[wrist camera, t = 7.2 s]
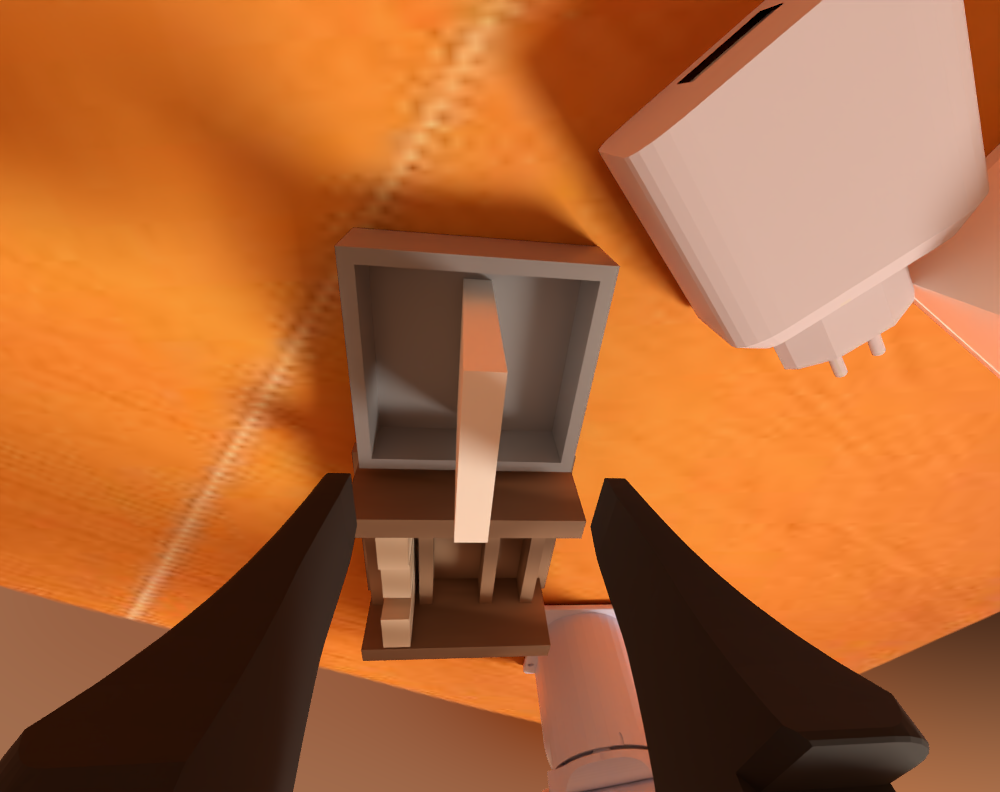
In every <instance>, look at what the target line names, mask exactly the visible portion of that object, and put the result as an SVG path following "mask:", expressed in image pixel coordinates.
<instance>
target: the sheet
mask: <svg viewBox="0 0 1000 792" xmlns="http://www.w3.org/2000/svg"><path fill="white" fill-rule="evenodd" d="M507 374H508V372H507V366H506V361H505V355H504V349H503V343H502V338H501V332H500V326H499V320H498V315H497V309H496V303H495V297H494V291H493V286H492V280H479V279H465V278H463V298H462V319H461V339H460V360H459V381H458V401H457V431H456V475H455V519H454V543H488V535H489V526H490V518H491V509H492V501H493V492H494V484H495V475H496V467H497V458H498V450H499V442H500V433H501V425H502V416H503V408H504V399H505V391H506V382H507Z"/></svg>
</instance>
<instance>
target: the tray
mask: <svg viewBox="0 0 1000 792" xmlns="http://www.w3.org/2000/svg"><path fill="white" fill-rule="evenodd" d="M335 254H336V263H337V272H338V281H339V290H340V299H341V308H342V317H343V326H344V335H345V344H346V353H347V362H348V370H349V379H350V388H351V397H352V406H353V415H354V424H355V433H356V442H357V451H358V460H359V468H371V469H424V470H456V431H457V401H458V381H459V360H460V339H461V319H462V298H463V278H465V279H479V280H492V286H493V291H494V297H495V303H496V309H497V315H498V320H499V326H500V332H501V338H502V343H503V349H504V355H505V361H506V366H507V372H508V374H507V382H506V391H505V399H504V408H503V416H502V425H501V433H500V442H499V450H498V458H497V467H496V471H530V472H571V469H572V465H573V461H574V457H575V453H576V448H577V444H578V440H579V436H580V431H581V427H582V423H583V419H584V415H585V410H586V406H587V402H588V398H589V394H590V389H591V385H592V381H593V377H594V372H595V368H596V364H597V360H598V356H599V351H600V347H601V343H602V339H603V335H604V330H605V326H606V322H607V318H608V313H609V309H610V305H611V301H612V297H613V292H614V288H615V284H616V280H617V276H618V271H619V267H620V266H619V265H618V264H617V263H615V262H614V261H613V260H612V259H611V258H610V257H609V256H608V255H607V254H606V253H605V252H604V251H603V250H602V249H601V248H600V247H599V246H587V245H574V244H561V243H548V242H535V241H522V240H509V239H497V238H484V237H471V236H458V235H445V234H432V233H419V232H406V231H393V230H380V229H367V228H354V227H353V228H352V229H351V230H350V231H349V232H348V233H347V234H346V235H345V236H344V237H343V238H342V239H341V240H340V241H339V242H338V243H337V244H336V245H335Z"/></svg>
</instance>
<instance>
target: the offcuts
mask: <svg viewBox="0 0 1000 792" xmlns="http://www.w3.org/2000/svg"><path fill="white" fill-rule="evenodd" d="M375 542H376V552H377V563H378V570H381V579H382V590H383V598H384V603H383V609H382V615H381V627H382V637H383V647H384V648H388V647H410V645H411V635H412V625H413V615H414V605H415V595H416V586H417V549H416V547H417V538H375Z"/></svg>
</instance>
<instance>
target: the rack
mask: <svg viewBox="0 0 1000 792" xmlns="http://www.w3.org/2000/svg"><path fill="white" fill-rule="evenodd" d="M352 459H353V467H354V475H355V476H354V479H353V482H352V488H353V496H354V504H355V512H356V520H357V528H356V534H355V538H362V541H363V549H364V557H365V566H366V574H367V582H368V590H371V602H370V608H369V613H368V618H367V623H366V628H365V634H364V639H363V644H362V649H361V651H362V658H363V661H376V660H411V659H447V658H482V657H518V656H548V653H549V649H550V646H551V644H550V638H549V632H548V626H547V620H546V614H545V608H544V602H543V596H542V590H541V588H544V587H545V583H546V579H547V574H548V570H549V566H550V562H551V558H552V554H553V549H554V545H555V541H556V538H581V537H582V534H583V530H584V527H585V523H586V519H585V516H584V512H583V509H582V506H581V502H580V499H579V496H578V493H577V489H576V486H575V483H574V480H573V476H572V470H573V466H574V462H575V457H574V461H573V465H572V469H571V472H530V471H496V475H495V484H494V492H493V501H492V509H491V518H490V526H489V535H488V543H454V519H455V475H456V470H424V469H371V468H359V460H358V451H357V443H355V444H354V447H353V450H352ZM375 538H417V547H416V549H417V586H416V595H415V605H414V615H413V625H412V635H411V645H410V647H388V648H384V647H383V637H382V627H381V615H382V609H383V603H384V598H383V590H382V579H381V570H378V563H377V552H376V542H375Z"/></svg>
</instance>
